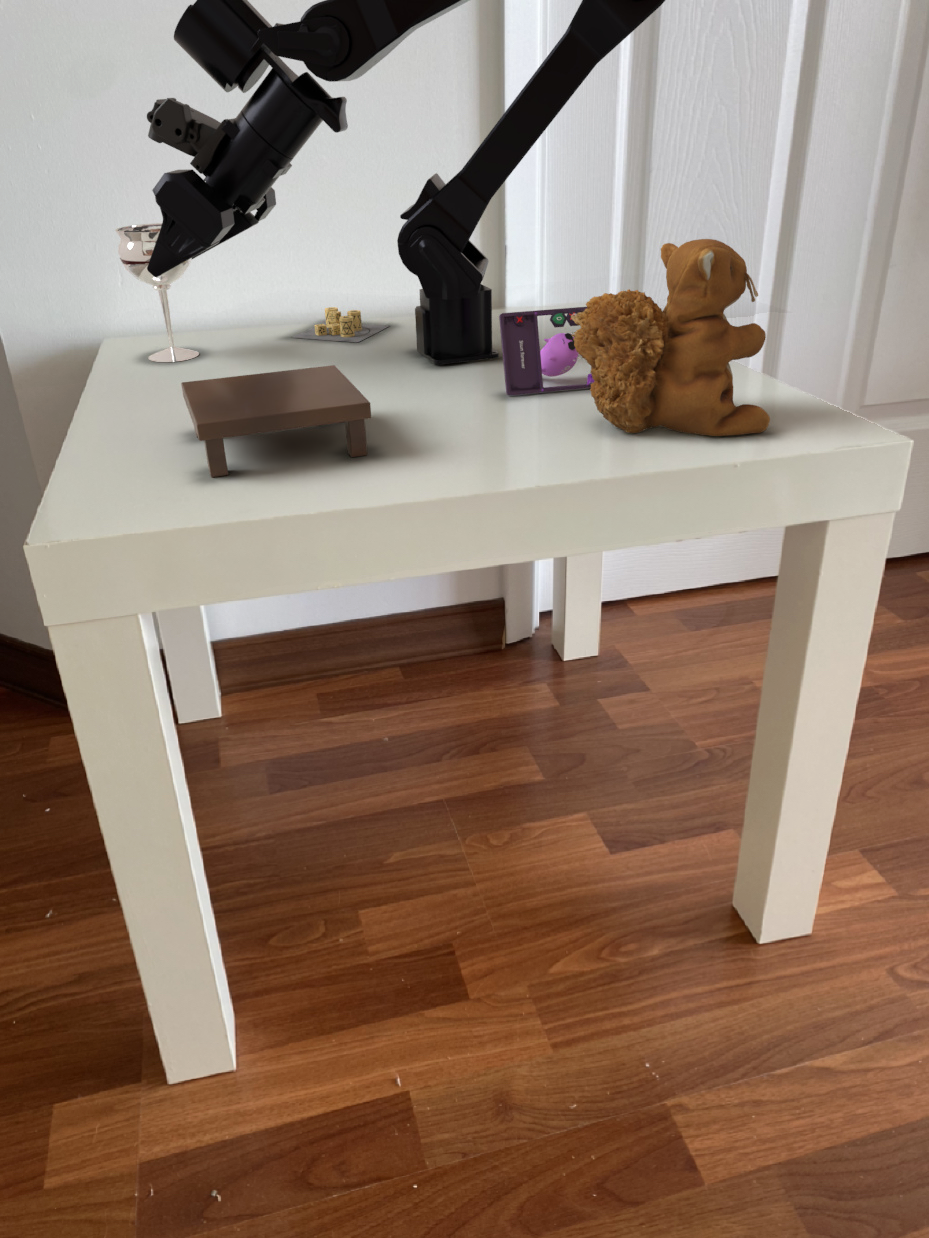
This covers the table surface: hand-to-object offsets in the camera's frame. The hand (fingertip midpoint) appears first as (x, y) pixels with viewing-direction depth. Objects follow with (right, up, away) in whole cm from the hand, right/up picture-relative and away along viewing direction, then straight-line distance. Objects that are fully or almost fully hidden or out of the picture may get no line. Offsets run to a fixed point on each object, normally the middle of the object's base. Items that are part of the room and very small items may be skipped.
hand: (169, 264), depth 92 cm
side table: (+14, -21, -20) cm, 32 cm away
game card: (+36, -14, -8) cm, 39 cm away
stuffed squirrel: (+44, -19, -17) cm, 51 cm away
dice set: (+15, -3, +12) cm, 19 cm away
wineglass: (-1, -8, +4) cm, 9 cm away
